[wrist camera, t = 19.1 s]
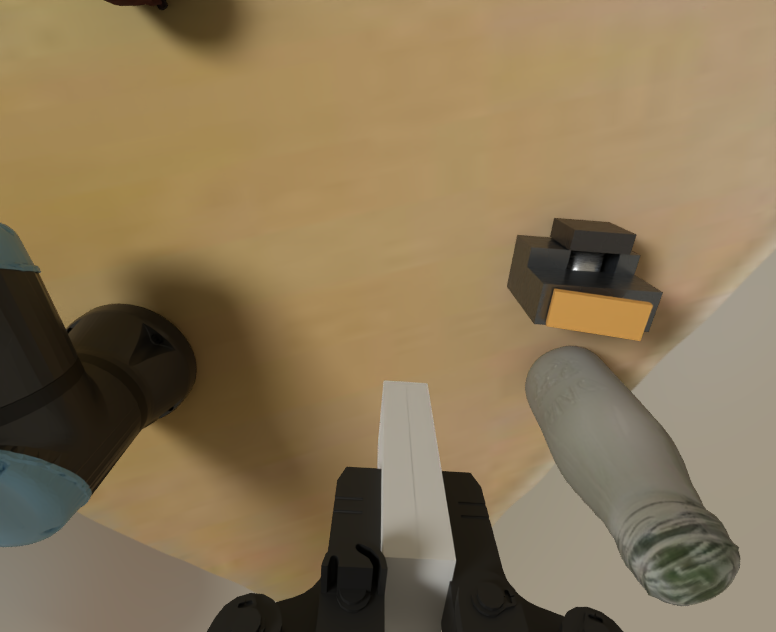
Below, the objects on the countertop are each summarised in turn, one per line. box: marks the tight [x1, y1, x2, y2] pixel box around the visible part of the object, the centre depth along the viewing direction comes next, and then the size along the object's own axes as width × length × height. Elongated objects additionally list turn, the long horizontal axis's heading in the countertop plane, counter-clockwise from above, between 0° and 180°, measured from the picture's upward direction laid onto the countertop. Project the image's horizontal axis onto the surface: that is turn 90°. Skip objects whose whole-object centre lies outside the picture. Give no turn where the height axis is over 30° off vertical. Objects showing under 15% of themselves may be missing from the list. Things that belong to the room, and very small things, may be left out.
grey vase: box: [525, 346, 740, 606], centre depth 42 cm, size 10×10×28 cm
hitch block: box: [507, 235, 663, 332], centre depth 44 cm, size 11×6×10 cm, turn 86°
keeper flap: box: [546, 289, 653, 341], centre depth 39 cm, size 8×3×1 cm, turn 86°
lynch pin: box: [550, 218, 636, 272], centre depth 46 cm, size 6×11×6 cm, turn 175°
